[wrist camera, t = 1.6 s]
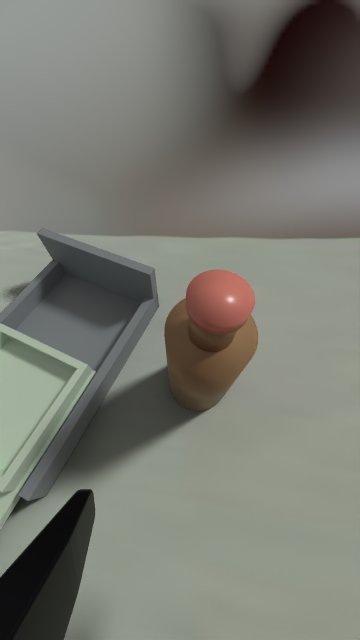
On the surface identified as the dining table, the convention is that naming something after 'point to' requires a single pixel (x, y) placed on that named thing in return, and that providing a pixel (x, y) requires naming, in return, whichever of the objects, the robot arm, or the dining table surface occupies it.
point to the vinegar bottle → (210, 338)
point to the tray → (32, 406)
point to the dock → (82, 329)
